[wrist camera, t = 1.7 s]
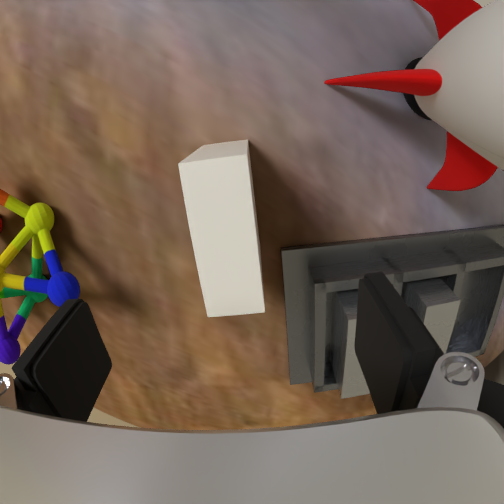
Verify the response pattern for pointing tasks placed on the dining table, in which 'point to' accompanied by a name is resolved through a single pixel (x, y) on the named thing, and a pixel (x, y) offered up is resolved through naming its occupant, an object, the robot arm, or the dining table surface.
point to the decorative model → (35, 285)
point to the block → (224, 227)
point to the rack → (406, 284)
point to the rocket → (456, 89)
